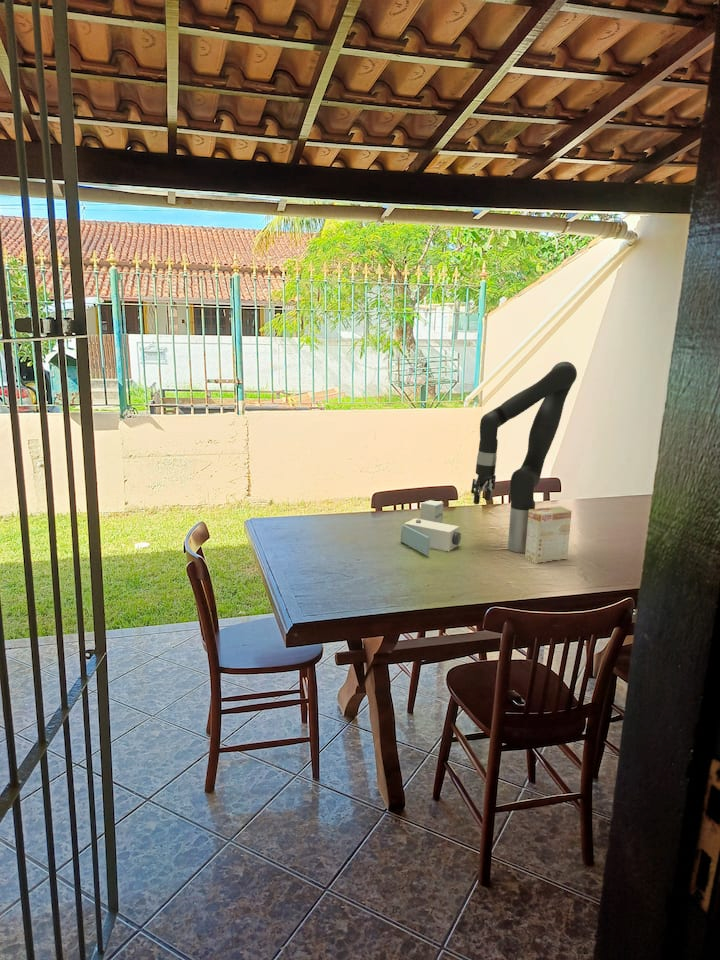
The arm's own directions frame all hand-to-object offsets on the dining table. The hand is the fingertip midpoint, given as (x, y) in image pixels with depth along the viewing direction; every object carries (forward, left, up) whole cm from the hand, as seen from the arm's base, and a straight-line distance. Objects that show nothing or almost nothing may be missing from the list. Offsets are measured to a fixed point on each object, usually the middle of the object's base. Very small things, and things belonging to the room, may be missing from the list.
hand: (481, 502), depth 250 cm
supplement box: (+24, -6, -18) cm, 31 cm away
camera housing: (+16, +11, -18) cm, 27 cm away
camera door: (+19, +21, -17) cm, 33 cm away
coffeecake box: (-28, +1, -18) cm, 33 cm away
